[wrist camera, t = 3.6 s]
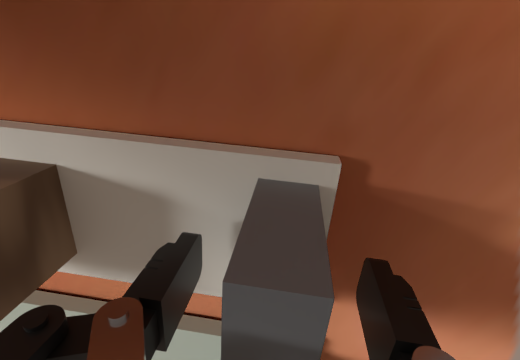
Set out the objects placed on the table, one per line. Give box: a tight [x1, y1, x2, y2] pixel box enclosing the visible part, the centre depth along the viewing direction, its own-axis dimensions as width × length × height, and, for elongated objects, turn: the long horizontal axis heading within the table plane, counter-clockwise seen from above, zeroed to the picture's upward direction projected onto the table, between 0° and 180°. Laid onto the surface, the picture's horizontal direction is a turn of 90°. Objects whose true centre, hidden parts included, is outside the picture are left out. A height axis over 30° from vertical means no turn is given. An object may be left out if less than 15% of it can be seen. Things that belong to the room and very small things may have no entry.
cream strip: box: [0, 120, 342, 360], centre depth 12 cm, size 8×26×7 cm, turn 87°
